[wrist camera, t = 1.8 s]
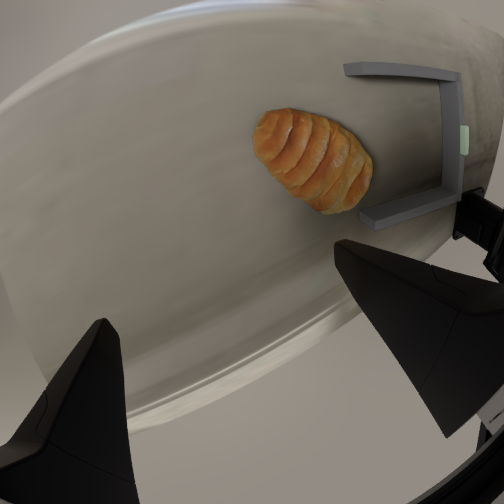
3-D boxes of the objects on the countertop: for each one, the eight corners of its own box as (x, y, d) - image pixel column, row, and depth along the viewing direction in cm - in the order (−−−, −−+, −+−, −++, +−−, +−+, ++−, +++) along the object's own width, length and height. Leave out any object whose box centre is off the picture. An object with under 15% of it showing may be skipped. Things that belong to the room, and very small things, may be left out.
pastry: (230, 162, 19) (240, 174, 16) (276, 85, 17) (296, 80, 14) (325, 213, 23) (347, 232, 20) (364, 149, 21) (393, 159, 18)
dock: (442, 71, 18) (465, 73, 15) (445, 192, 25) (464, 202, 23) (343, 64, 17) (366, 61, 14) (359, 219, 24) (378, 234, 21)
